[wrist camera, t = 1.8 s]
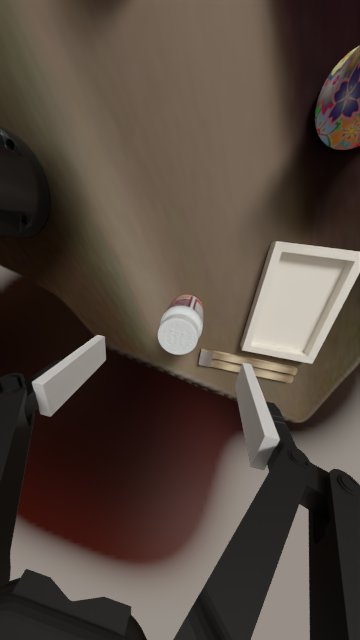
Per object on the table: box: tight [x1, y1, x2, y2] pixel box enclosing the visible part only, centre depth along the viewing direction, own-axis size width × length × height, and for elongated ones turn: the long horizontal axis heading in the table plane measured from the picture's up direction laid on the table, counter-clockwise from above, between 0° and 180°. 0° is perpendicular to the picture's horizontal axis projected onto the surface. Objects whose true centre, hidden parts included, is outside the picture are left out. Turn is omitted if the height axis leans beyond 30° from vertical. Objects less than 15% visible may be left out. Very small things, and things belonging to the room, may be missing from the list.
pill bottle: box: [158, 295, 204, 355], centre depth 26 cm, size 6×6×11 cm
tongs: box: [199, 348, 297, 383], centre depth 33 cm, size 18×3×1 cm, turn 82°
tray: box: [240, 241, 360, 364], centre depth 27 cm, size 12×18×2 cm, turn 172°
